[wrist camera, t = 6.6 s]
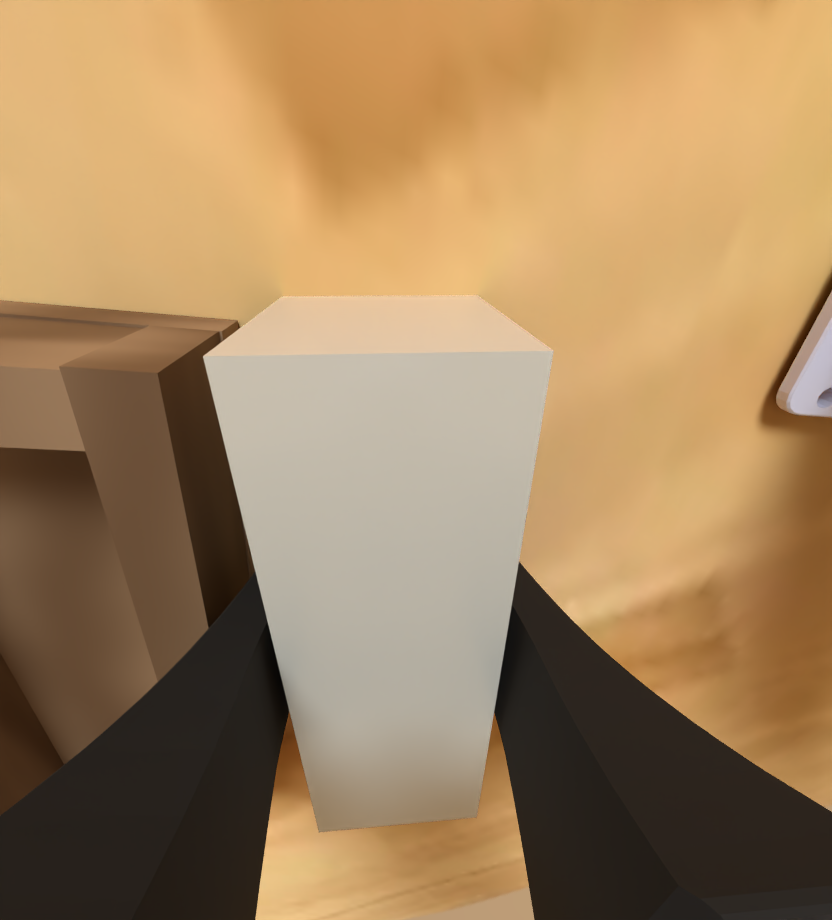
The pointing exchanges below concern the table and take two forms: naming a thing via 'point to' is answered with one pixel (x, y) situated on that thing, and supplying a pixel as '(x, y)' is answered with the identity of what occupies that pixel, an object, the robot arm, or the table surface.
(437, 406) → the rectangular block
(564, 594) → the table surface
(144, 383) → the shallow brown tray
